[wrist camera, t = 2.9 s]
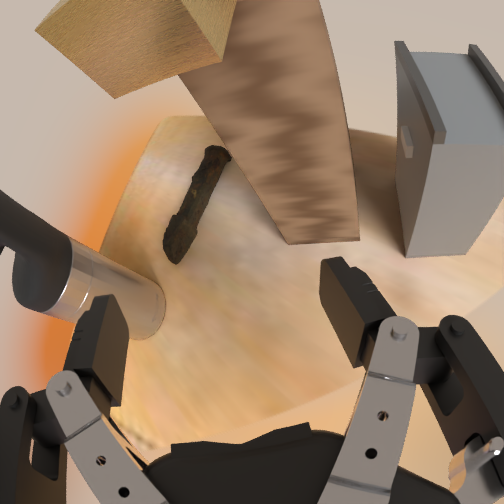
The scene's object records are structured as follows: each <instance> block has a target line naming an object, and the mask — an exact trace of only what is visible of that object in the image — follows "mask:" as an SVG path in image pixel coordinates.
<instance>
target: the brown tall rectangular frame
mask: <svg viewBox="0 0 504 504" xmlns="http://www.w3.org/2000/svg"><path fill="white" fill-rule="evenodd" d="M178 76H179V77H180V79H181V80H182V81H183V83H184V84H185V86H186V87H187V89H188V90H189V92H190V93H191V95H192V96H193V98H194V99H195V101H196V102H197V103H198V105H199V106H200V108H201V109H202V110H203V112H204V114H205V115H206V117H207V118H208V120H209V121H210V123H211V124H212V126H213V127H214V129H215V130H216V132H217V133H218V135H219V136H220V138H221V139H222V141H223V142H224V144H225V145H226V147H227V148H228V150H229V152H230V153H231V155H232V156H233V158H234V159H235V161H236V162H237V164H238V165H239V167H240V168H241V170H242V172H243V173H244V175H245V176H246V178H247V179H248V181H249V182H250V184H251V186H252V187H253V189H254V190H255V192H256V193H257V195H258V197H259V198H260V200H261V201H262V203H263V205H264V206H265V208H266V209H267V211H268V213H269V214H270V216H271V217H272V219H273V221H274V222H275V224H276V225H277V227H278V229H279V230H280V232H281V233H282V235H283V237H284V238H285V240H286V242H287V243H288V245H294V244H312V243H330V242H348V241H360V234H359V219H358V206H357V195H356V184H355V175H354V166H353V158H352V151H351V144H350V137H349V131H348V125H347V119H346V113H345V107H344V102H343V97H342V92H341V87H340V82H339V77H338V72H337V67H336V63H335V59H334V54H333V50H332V46H331V42H330V38H329V34H328V30H327V27H326V23H325V19H324V16H323V12H322V9H321V5H320V2H319V0H237V1H236V5H235V9H234V13H233V17H232V21H231V25H230V29H229V33H228V37H227V41H226V46H225V50H224V54H223V59H222V62H218V63H214V64H211V65H207V66H204V67H200V68H197V69H194V70H191V71H187V72H184V73H181V74H178Z"/></svg>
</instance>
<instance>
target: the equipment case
mask: <svg viewBox="0 0 504 504" xmlns="http://www.w3.org/2000/svg"><path fill="white" fill-rule="evenodd" d="M394 43H395V56H396V73H397V153H396V171H395V183H396V189H397V195H398V201H399V208H400V215H401V222H402V230H403V239H404V248H405V258H416V257H434V256H451V255H466V253H467V252H468V250H469V249H470V248H471V246H472V245H473V243H474V242H475V241H476V239H477V238H478V236H479V235H480V233H481V232H482V230H483V229H484V227H485V226H486V224H487V223H488V221H489V220H490V218H491V217H492V215H493V213H494V212H495V210H496V209H497V207H498V205H499V204H500V202H501V200H502V199H503V197H504V82H503V80H502V79H501V77H500V76H499V74H498V73H497V72H496V70H495V69H494V67H493V66H492V65H491V63H490V62H489V61H488V59H487V58H486V57H485V55H484V54H483V53H482V51H481V50H480V49H479V48H478V46H477V45H472V44H469V50H468V55H467V54H454V53H436V52H409V50H408V48H407V47H406V45H405V43H404V41H395V42H394Z"/></svg>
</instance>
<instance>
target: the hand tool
mask: <svg viewBox="0 0 504 504" xmlns="http://www.w3.org/2000/svg"><path fill="white" fill-rule="evenodd" d="M231 158H232V157H231V156H230V154H229V152H228V151H227V150H226V149H225V148H223V147H221V146H214V145H211V146H209V147H207V148H206V149H205V156H204V159H203V161H202V162H201V165H200V167H199V169H198V171H196V173H195V174H194V176H192V183H191V186H190V188H189V190H188V192H187V194H186V196H185V199H184V201H183V203H182V206H181V207H180V210H179V212H178V213H177V215H173V216H172V218H171V220H170V222H169V225H168V227H167V228H166V232H165V233H164V239H163V249H164V251H165V253H166V255H167V257H168V259H169V260H170V261H171V262H172V263H174V264H178V263H179V262H180V261H181V259H182V258H183V257H184V255H185V254H186V252H187V251H188V249H189V247H190V245H191V243H192V242H193V240H194V238H195V237H196V235H197V230H196V228H197V225H198V222H199V220H200V218H201V216H202V214H203V212H204V209H205V208H206V206H207V204H208V201H209V198H210V196H211V194H212V191H213V189H214V187H215V186H216V183H217V182H218V180H219V176H220V174H221V172H222V169H223V167H224V165H225V163H226V162H228V161H231Z"/></svg>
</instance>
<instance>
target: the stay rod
mask: <svg viewBox="0 0 504 504" xmlns="http://www.w3.org/2000/svg"><path fill="white" fill-rule="evenodd" d="M236 1H237V0H60V1H59V2H58V4H56V5H55V7H54V8H53V9H52V10H51V11H50V12H49V13H48V14H47V16H46V17H45V18H44V19H43V21H42V22H41V23H40V24H39V25H38V26H37V28H36V29H35V31H36V32H37V33H38V34H39V35H41V36H42V37H43V38H44V39H45V40H46V41H48V42H49V43H50V44H51V45H52V46H54V47H55V48H56V49H57V50H58V51H60V52H61V53H62V54H63V55H64V56H65V57H67V58H68V59H69V60H70V61H71V62H73V63H74V64H75V65H76V66H77V67H78V68H80V69H81V70H82V71H83V72H84V73H85V74H86V75H88V76H89V77H90V78H91V79H92V80H93V81H94V82H96V83H97V84H98V85H99V86H100V87H101V88H103V89H104V90H105V91H106V92H107V93H108V94H109V95H111V96H112V97H113V98H114V99H116V98H118V97H121V96H123V95H125V94H128V93H130V92H132V91H135V90H137V89H140V88H142V87H145V86H148V85H150V84H153V83H155V82H158V81H161V80H163V79H166V78H169V77H172V76H175V75H178V74H181V73H184V72H187V71H191V70H194V69H197V68H200V67H204V66H207V65H211V64H214V63H218V62H222V59H223V54H224V50H225V46H226V41H227V37H228V33H229V29H230V25H231V21H232V17H233V13H234V9H235V5H236Z"/></svg>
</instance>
